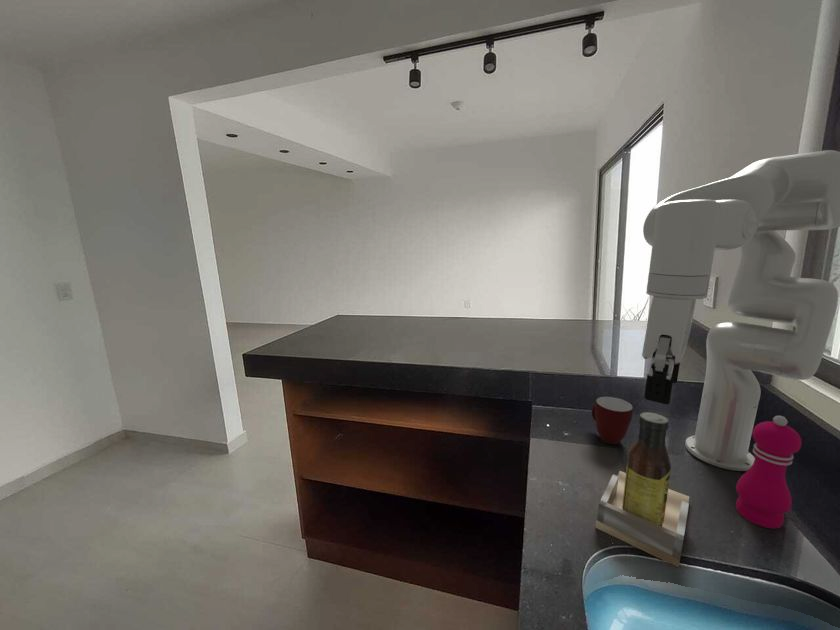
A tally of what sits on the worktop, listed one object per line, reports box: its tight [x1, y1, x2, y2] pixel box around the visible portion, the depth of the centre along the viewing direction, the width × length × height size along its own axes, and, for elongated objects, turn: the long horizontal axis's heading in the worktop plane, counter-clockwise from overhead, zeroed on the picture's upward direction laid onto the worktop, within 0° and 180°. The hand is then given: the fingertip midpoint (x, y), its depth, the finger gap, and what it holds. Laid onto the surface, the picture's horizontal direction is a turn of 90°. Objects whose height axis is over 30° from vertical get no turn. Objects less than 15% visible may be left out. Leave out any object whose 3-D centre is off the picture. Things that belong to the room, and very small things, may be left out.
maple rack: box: [595, 470, 690, 568], centre depth 65 cm, size 18×12×5 cm, turn 139°
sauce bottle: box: [622, 412, 672, 526], centre depth 60 cm, size 7×6×20 cm
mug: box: [591, 396, 634, 446], centre depth 89 cm, size 10×8×10 cm
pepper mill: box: [735, 415, 802, 529], centre depth 63 cm, size 7×7×20 cm
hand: (661, 390), depth 57 cm, fingers open, 9 cm apart
